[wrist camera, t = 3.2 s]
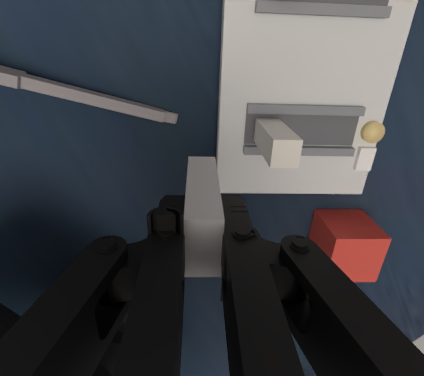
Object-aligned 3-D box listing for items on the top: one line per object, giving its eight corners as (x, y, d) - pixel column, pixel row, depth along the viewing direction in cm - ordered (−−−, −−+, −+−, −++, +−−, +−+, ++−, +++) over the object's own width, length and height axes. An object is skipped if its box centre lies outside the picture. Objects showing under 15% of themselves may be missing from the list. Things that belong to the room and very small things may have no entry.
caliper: (-45, 58, 26) (-110, 62, 21) (-45, 46, 26) (-112, 46, 20) (176, 122, 30) (171, 141, 24) (178, 112, 29) (174, 129, 24)
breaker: (253, 140, 28) (269, 167, 22) (255, 117, 27) (273, 139, 21) (275, 141, 29) (298, 168, 22) (278, 118, 28) (303, 140, 21)
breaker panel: (214, 184, 33) (216, 196, 30) (228, -135, 21) (232, -159, 19) (352, 186, 34) (365, 197, 31) (436, -120, 22) (466, -140, 20)
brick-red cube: (306, 248, 38) (325, 282, 32) (314, 209, 35) (336, 239, 30) (350, 248, 38) (375, 281, 33) (361, 209, 35) (391, 238, 30)
